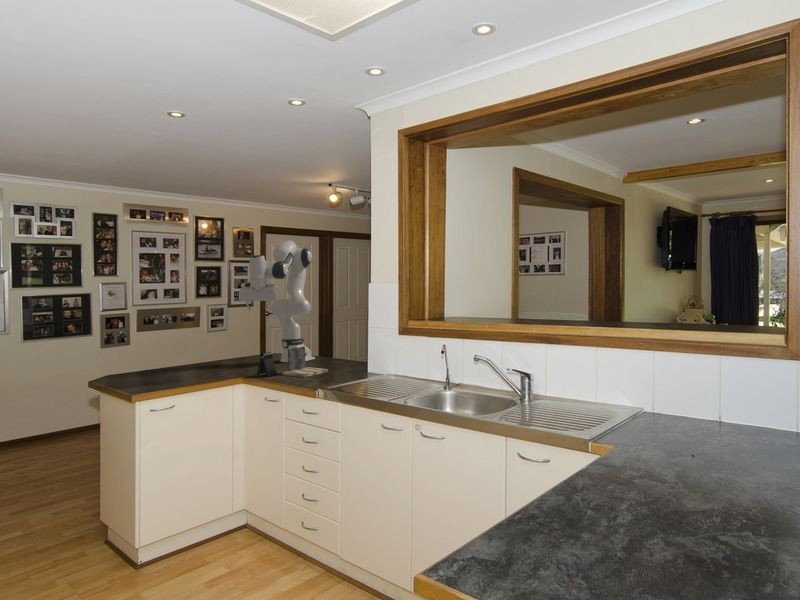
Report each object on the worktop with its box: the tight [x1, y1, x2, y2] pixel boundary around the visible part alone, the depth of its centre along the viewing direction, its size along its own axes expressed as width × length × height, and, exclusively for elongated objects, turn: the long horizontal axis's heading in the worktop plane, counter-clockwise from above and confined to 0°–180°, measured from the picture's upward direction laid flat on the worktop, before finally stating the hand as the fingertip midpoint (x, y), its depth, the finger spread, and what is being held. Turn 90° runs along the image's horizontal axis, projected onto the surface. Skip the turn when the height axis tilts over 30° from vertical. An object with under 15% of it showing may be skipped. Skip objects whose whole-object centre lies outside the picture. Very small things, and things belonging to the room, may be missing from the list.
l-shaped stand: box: [282, 347, 329, 378], centre depth 288 cm, size 18×16×14 cm
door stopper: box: [256, 351, 278, 377], centre depth 286 cm, size 9×6×12 cm, turn 58°
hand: (258, 309), depth 293 cm, fingers open, 8 cm apart
